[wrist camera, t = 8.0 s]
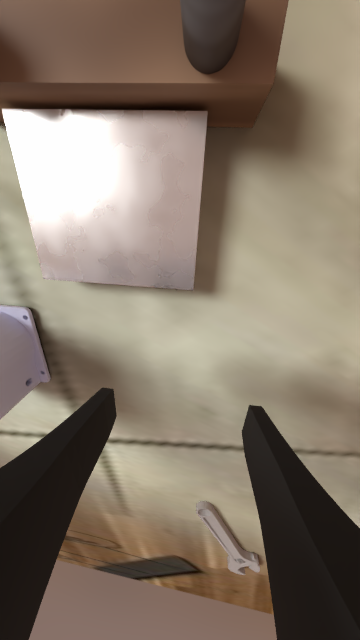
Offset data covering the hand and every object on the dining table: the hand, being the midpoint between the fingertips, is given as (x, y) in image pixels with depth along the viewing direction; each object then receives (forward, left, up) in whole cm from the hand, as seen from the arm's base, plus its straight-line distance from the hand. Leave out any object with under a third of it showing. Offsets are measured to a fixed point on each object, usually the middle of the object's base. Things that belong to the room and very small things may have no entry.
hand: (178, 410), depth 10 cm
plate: (+10, +6, -10) cm, 15 cm away
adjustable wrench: (-42, -11, -10) cm, 45 cm away
